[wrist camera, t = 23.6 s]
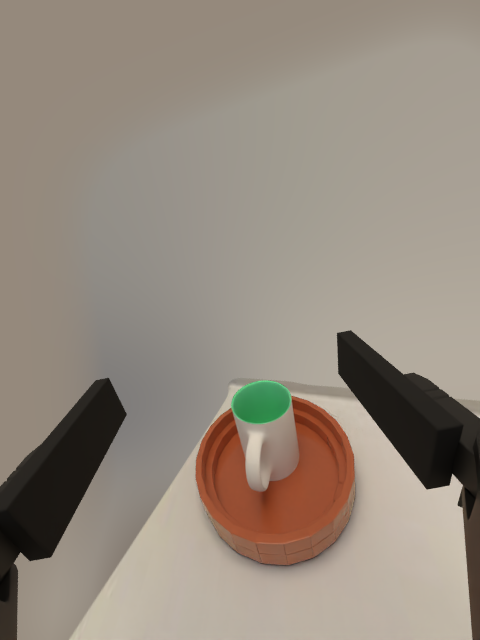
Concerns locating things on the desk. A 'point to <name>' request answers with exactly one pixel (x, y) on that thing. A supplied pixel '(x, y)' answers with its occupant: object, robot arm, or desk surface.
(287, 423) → the mug
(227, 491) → the bowl
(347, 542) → the desk surface
